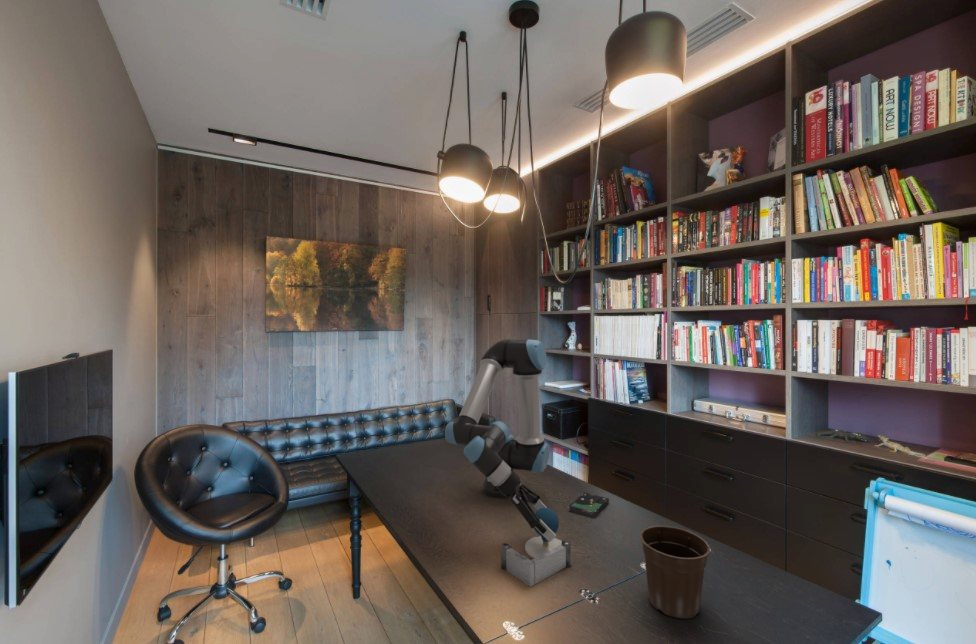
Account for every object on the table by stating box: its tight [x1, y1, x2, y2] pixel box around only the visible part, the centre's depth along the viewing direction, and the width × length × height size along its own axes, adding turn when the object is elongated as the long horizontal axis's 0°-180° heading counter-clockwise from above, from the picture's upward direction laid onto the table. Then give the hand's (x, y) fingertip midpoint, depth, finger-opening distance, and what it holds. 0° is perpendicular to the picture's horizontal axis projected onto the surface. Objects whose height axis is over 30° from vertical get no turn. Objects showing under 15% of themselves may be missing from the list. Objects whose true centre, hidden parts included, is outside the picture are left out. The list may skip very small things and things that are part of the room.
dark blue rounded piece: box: [533, 507, 560, 547], centre depth 133 cm, size 8×8×12 cm
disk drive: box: [569, 492, 610, 519], centre depth 163 cm, size 10×3×15 cm
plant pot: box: [639, 525, 711, 620], centre depth 108 cm, size 16×16×16 cm
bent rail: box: [500, 539, 572, 588], centre depth 125 cm, size 18×13×6 cm
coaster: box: [524, 535, 563, 559], centre depth 133 cm, size 13×13×1 cm
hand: (551, 527), depth 133 cm, fingers open, 13 cm apart
